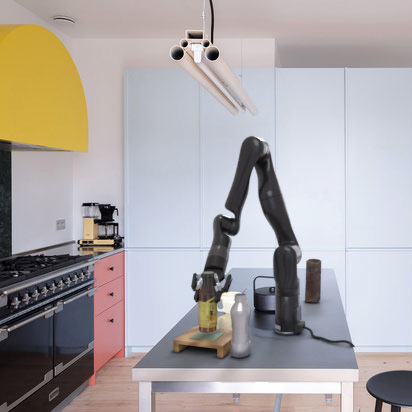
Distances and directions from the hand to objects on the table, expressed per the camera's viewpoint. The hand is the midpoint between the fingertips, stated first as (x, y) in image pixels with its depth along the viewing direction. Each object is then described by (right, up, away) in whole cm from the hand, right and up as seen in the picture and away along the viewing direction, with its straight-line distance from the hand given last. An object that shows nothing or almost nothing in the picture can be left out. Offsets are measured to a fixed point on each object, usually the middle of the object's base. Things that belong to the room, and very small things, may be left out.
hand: (206, 301), depth 139 cm
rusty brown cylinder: (+36, -14, +58) cm, 69 cm away
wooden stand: (0, -16, +2) cm, 16 cm away
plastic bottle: (+12, -16, -5) cm, 21 cm away
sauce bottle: (0, -10, +2) cm, 11 cm away
